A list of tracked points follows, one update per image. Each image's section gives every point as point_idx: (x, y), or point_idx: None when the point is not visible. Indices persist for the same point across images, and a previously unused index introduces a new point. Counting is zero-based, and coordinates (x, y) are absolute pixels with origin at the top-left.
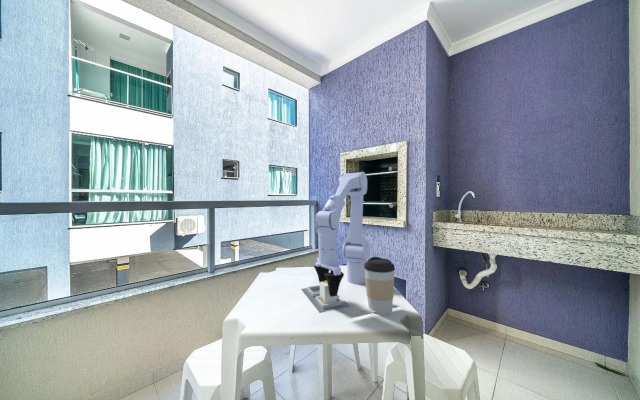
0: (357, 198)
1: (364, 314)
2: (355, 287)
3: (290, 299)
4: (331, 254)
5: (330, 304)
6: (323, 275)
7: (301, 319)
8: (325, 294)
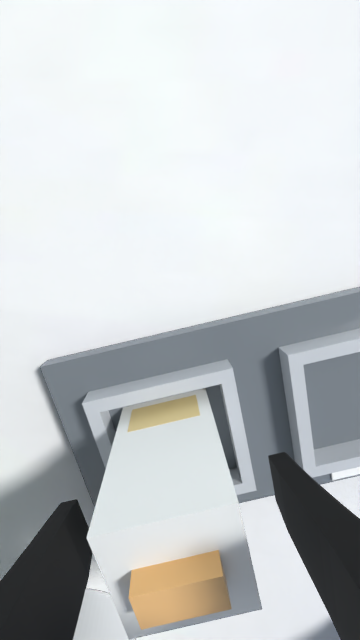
0: None
1: None
2: None
3: (319, 176)
4: None
5: (100, 448)
6: (345, 610)
7: (5, 243)
8: (110, 470)
